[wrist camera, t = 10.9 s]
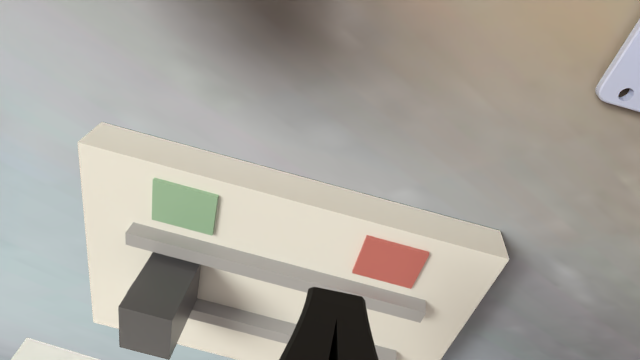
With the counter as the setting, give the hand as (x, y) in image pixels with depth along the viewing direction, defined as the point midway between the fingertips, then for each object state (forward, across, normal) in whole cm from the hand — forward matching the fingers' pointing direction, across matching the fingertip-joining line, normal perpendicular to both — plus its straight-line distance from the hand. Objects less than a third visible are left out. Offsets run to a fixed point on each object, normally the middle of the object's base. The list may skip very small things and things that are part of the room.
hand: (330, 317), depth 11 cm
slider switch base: (+10, +2, +10) cm, 14 cm away
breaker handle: (+8, +7, +9) cm, 14 cm away
